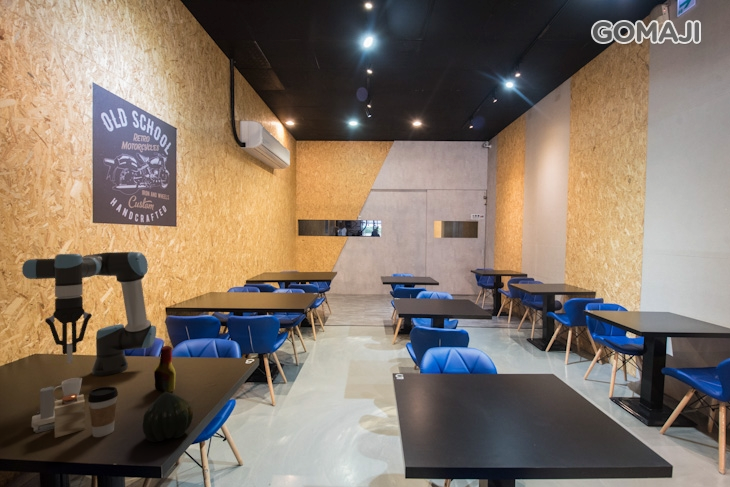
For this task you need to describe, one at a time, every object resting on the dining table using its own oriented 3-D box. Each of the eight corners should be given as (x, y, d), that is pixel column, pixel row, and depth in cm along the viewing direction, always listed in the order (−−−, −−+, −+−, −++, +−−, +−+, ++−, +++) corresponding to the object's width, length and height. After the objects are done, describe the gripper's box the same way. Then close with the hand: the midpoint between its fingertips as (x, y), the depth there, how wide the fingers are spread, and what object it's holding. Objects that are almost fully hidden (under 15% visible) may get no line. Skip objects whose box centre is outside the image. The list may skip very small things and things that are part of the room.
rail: (57, 408, 138) (57, 405, 138) (58, 427, 124) (58, 423, 124) (37, 414, 134) (37, 410, 134) (35, 433, 120) (35, 429, 120)
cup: (84, 398, 147) (84, 379, 147) (53, 407, 140) (53, 387, 140) (80, 394, 152) (80, 376, 152) (50, 402, 144) (49, 383, 144)
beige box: (83, 420, 128) (83, 394, 128) (84, 429, 122) (84, 401, 123) (54, 428, 123) (54, 400, 123) (54, 437, 117) (54, 408, 117)
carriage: (61, 416, 131) (61, 382, 131) (61, 423, 126) (61, 388, 126) (32, 424, 126) (32, 388, 126) (31, 431, 120) (31, 395, 120)
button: (76, 411, 126) (76, 393, 126) (77, 415, 123) (77, 396, 123) (62, 415, 123) (62, 396, 123) (62, 419, 120) (62, 400, 120)
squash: (176, 434, 109) (188, 386, 119) (127, 438, 108) (143, 389, 118) (192, 444, 119) (201, 399, 129) (147, 448, 118) (160, 403, 128)
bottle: (179, 390, 155) (179, 346, 155) (165, 395, 149) (165, 350, 149) (165, 385, 161) (165, 342, 161) (151, 390, 156) (150, 346, 156)
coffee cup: (98, 426, 124) (98, 385, 124) (123, 425, 125) (123, 384, 125) (81, 440, 116) (81, 395, 116) (108, 438, 116) (108, 394, 116)
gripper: (91, 293, 130) (91, 355, 130) (44, 297, 121) (45, 364, 121) (93, 295, 125) (93, 360, 125) (44, 300, 116) (44, 369, 116)
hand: (69, 362), depth 123 cm, fingers closed
